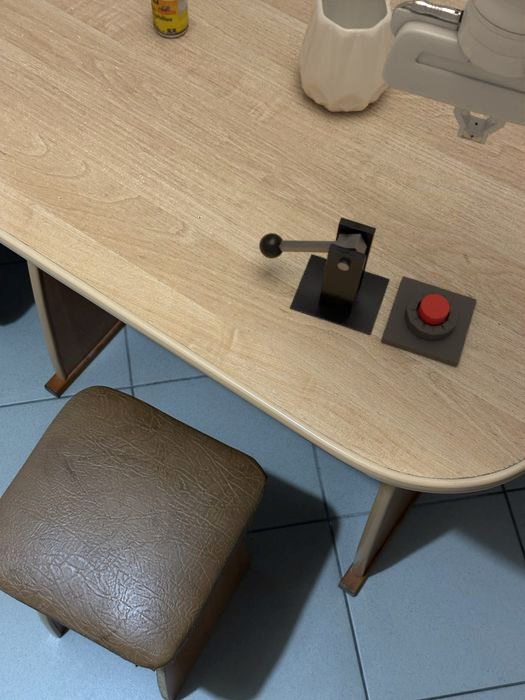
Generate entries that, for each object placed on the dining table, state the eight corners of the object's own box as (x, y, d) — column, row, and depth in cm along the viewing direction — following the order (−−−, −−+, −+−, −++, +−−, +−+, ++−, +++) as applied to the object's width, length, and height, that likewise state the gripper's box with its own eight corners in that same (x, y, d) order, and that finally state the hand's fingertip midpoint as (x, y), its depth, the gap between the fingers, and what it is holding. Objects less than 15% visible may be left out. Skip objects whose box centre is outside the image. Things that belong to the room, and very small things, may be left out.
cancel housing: (472, 307, 111) (480, 292, 107) (454, 371, 107) (462, 357, 103) (400, 284, 112) (405, 268, 109) (379, 346, 108) (384, 331, 104)
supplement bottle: (146, 29, 132) (140, -26, 123) (168, 9, 134) (164, -47, 125) (174, 44, 131) (169, -10, 122) (196, 25, 133) (193, -31, 124)
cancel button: (449, 305, 107) (452, 298, 105) (442, 329, 105) (445, 322, 104) (422, 297, 107) (425, 290, 106) (415, 320, 106) (417, 313, 104)
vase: (393, 120, 125) (412, 41, 112) (299, 123, 125) (307, 43, 111) (381, 52, 132) (398, -31, 118) (292, 54, 131) (298, -29, 117)
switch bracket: (289, 312, 110) (296, 254, 97) (310, 259, 114) (320, 196, 101) (369, 339, 108) (386, 283, 96) (388, 283, 112) (407, 223, 100)
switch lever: (261, 263, 107) (251, 247, 105) (270, 243, 109) (260, 227, 106) (361, 266, 100) (353, 249, 98) (369, 245, 101) (361, 228, 99)
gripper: (386, 17, 72) (363, 129, 84) (624, 84, 69) (564, 189, 81) (406, -30, 74) (381, 85, 87) (635, 33, 72) (576, 142, 84)
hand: (471, 136), depth 84 cm, fingers closed
